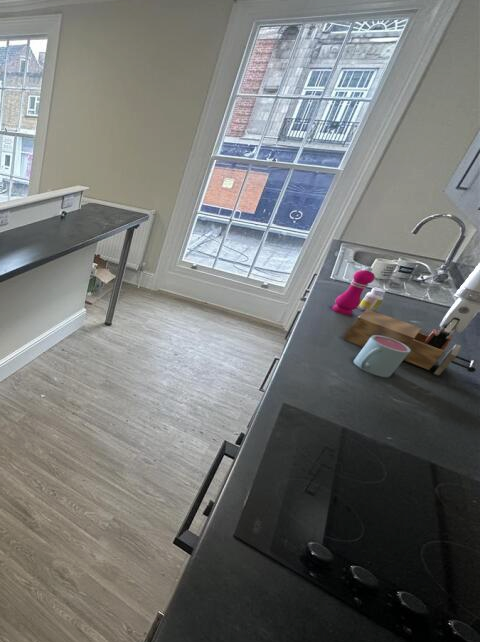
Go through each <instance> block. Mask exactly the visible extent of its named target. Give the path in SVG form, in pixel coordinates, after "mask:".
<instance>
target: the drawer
mask: <svg viewBox="0 0 480 642" xmlns="http://www.w3.org/2000/svg"><path fill="white" fill-rule="evenodd" d="M429 335H430V334H429ZM429 335H428V334H426V333H423V332H420V331H419V332H418V334H417V335H416V336H415V338H414V339H413V340H412V341H411V343H410V344H409V345H408V347H409V348H410V350H411V351H410V352H409V354H408V355H407V356H406V357H405V359H404V360H403V361H405V362H407V363H410V364H412V365H415V366H418V367H420V368H423V369H425V370H427V371H430V369H431V368H432V367H433V366H434V365H435V364H436V363H437V362H438V360H439V359H440V358H441V357H442V356H443V355H444V353H445V352H446V348H447V347H448V346H449V345H450V342H449V343H448V344H447V345H446V346H445V347H444V349H443V350H441V349H438V348H436V347H433V346H430V345H427V344H425V343H424V342H425V340H426V339H427V338H428V337H429ZM461 347H462V345H460V344H457V343H455V344H454V345H453V347H451V349H450V350H449V351H448V352H447V353H446V354H445V356H444V357H443V358H442V359H441V360H440V361H439V363H438V364H437V367H436V368H435V370H434V372H433V375H436V376H438V377H439V376H440V375H441V374H442V373H443V371H445V369H446V368H447V367H448V366H449V365H450V364H454V365H457V366H459V367H461V368H463V369H464V368H465V369H466V370H467V371H468V372H470V373H474V372H476V371H477V367H478V365H479V362H478V361H477V360H474V359H472V360H470V359H467V358H465V357H462V356H459V355H458V353H459V351H460V349H461ZM455 358H456V359H457V360H461V361H464V362H466V363H468V365H465V364H462V363H461V362H457V361H455V360H454V359H455Z"/></svg>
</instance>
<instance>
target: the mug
mask: <svg viewBox="0 0 480 642" xmlns="http://www.w3.org/2000/svg"><path fill="white" fill-rule="evenodd" d="M410 351H411V350H410V348H409V347H408V346H406V345H405V344H403V343H401V342H399V341H397V340H394V339H391V338H388V337H385V336H380V335H373V336H371V338H370V339H369V340H368V342H367V343H366V345H365V346H364V347H362V349H361V350H360V351H359V353H358V354H357V356H356V357H355V358H354V359H353V364H355V365H356V367H358V368H359V369H361V370H362V371H364V372H367V373H368V374H372V375H374V376H376V377H377V376H378V377H381V378H389V377H391V376H393V373H394V372H395V371H396V370H397V368H398V367H399V366H400V365H401V364H402V362H404V361H405V360H404V359H405V357H406V356H407V355H408V354H409V352H410Z"/></svg>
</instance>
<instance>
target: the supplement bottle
mask: <svg viewBox="0 0 480 642" xmlns="http://www.w3.org/2000/svg"><path fill="white" fill-rule="evenodd" d="M386 293H387V291H386V290H384V289H382V288H379V287H372V289H371V290H370V291H369V292H367V293H366V294H365V296H364V297H363V299H362V300H361V301H360V304H359V306H358V309H359V310H360V311H363V312H365V311H366V310H367V309H369V310H371V311H374V312H376V311H377V309H378V308H379V306H380V305H381V303H382V302H383V301H384V295H385V294H386Z"/></svg>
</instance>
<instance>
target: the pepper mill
mask: <svg viewBox="0 0 480 642" xmlns="http://www.w3.org/2000/svg"><path fill="white" fill-rule="evenodd" d="M372 271H373V268H372V267H370V266H369V267H366V268H365V269H362V270H361V269H360V270H357V271H356V272H354V274H353V276H352V278H353V279H352V280H351V281H350V286H349V287H348V288H347V290H345V291H344V292H343V293H342V294H340V295H339V296H337V297H336V298H335V300H334V302H335V304H334V305H333V306H332V308H331V309H332V310H333V311H334V312H336V313H338V314H341V315H346V316H351V315H352V314H353V311H354V310H356V309H357V308H358V306H359V305H360V303H361V295H362V293H363V291H364V290H365V289H367V287H368V286H369V284H371V283H373V282H374V281H375V277H376V275H375V274H374V272H372ZM358 309H359V308H358Z"/></svg>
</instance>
